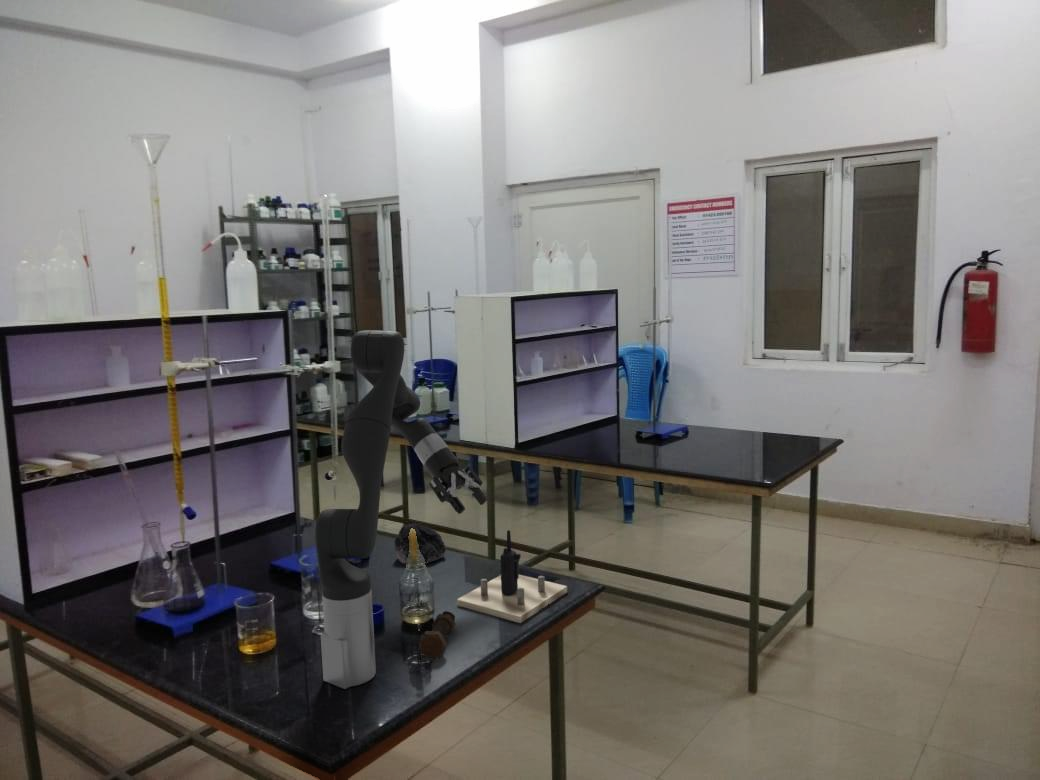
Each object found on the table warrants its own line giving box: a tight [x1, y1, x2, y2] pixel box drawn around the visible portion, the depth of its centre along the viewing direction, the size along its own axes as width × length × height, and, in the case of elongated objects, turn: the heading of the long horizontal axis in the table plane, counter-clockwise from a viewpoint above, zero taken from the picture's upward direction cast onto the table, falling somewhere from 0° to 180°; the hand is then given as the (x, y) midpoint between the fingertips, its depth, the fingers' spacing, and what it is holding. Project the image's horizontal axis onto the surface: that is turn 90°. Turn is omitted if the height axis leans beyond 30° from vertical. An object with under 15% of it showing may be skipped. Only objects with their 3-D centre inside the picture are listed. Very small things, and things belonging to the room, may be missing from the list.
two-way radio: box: [500, 529, 522, 595], centre depth 183 cm, size 6×4×15 cm
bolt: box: [417, 610, 456, 659], centre depth 163 cm, size 6×5×15 cm
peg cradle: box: [456, 574, 568, 624], centre depth 184 cm, size 20×18×5 cm
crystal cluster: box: [394, 523, 446, 565], centre depth 213 cm, size 13×14×10 cm
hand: (473, 507), depth 187 cm, fingers open, 8 cm apart
